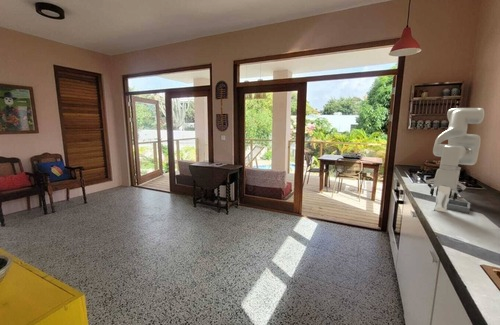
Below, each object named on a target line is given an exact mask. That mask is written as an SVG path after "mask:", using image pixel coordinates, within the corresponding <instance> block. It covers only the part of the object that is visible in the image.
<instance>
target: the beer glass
mask: <svg viewBox="0 0 500 325" xmlns="http://www.w3.org/2000/svg"><path fill="white" fill-rule="evenodd" d="M435 190H436V192H435V204H434V207H433V210H434V211H436V212H439V213H448V210H449V209H447V206H448V203H449V201H450V199H452V198H451V197H453V196H452V189H450V187H447V186H441V185H440V186H439V187H436V189H435Z"/></svg>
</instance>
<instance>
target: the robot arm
mask: <svg viewBox="0 0 500 325" xmlns="http://www.w3.org/2000/svg"><path fill="white" fill-rule="evenodd" d="M484 109H485V108H483V107H454V108H450V109H448V110H447V112H446V113H447V114H446V117H447V120H448V127H447V130H445V131H443V132H441V133H439V135H437V137H436V138H435V141H434V143H433V144H434V145H433V148H432V154H433V155H434V156H435V157H440V164H439V168H437V170H436V172H435V176H434V178H431V179H426V180H425V182H426V184H427V186H428V187H429V189H430V191H429V192H430V193H429V195H430V196H431V197H433V196H434V192H435V193H436V189H435V188H437V187H439V186H440V185H441V186H447V187H450V189H452V196H451V197H453V198H452V199H453V200H457V198H458V197H459V193H462V192H464V190H465V189H466V188H467V186H466V185H464V184H463V183H461V182H459V178H460V173H461V169H462V167H460V166H459V165H464V166H466V165H467V166H473V165H474V166H475V164H477V161H478V158H479V152H480V148H481V142H482V141H481V140H482V139H481V136H480V135H479V134H474V133H473V134H472V133H467V132H468V125H469V124H470V125H475V124H476V125H479V124H481V123H482V122H483V120H484V118H485V110H484ZM445 141H448V142H447V143H443V142H445ZM432 182H433V185H432V184H431V183H432ZM458 186H459V187H461V188H459V189H458Z"/></svg>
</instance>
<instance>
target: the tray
mask: <svg viewBox="0 0 500 325" xmlns="http://www.w3.org/2000/svg"><path fill="white" fill-rule="evenodd" d="M470 209H471V202H468V201H462V200H457V199H455V200H453V198H450V201H449V203H448V206H447V210H451V211H455V212H459V213H464V214H470Z"/></svg>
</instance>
